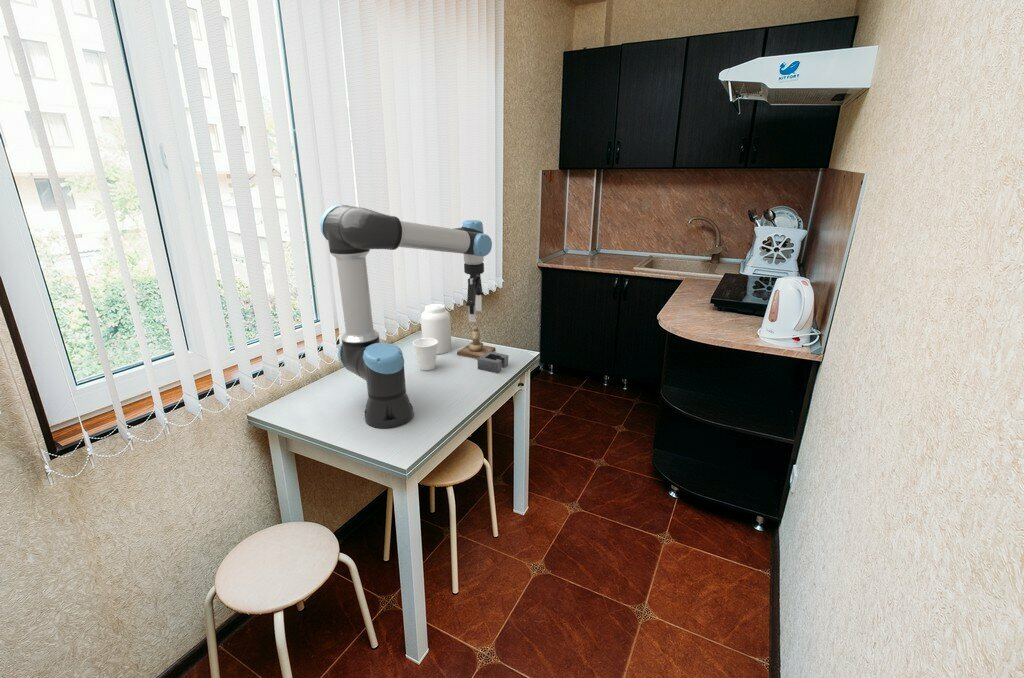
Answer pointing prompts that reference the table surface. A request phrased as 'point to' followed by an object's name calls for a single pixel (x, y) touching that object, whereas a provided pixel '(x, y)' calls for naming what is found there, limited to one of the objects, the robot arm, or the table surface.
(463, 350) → the post fixture
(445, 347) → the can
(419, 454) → the table surface
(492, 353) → the grey split frame
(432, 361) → the cup
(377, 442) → the table surface
